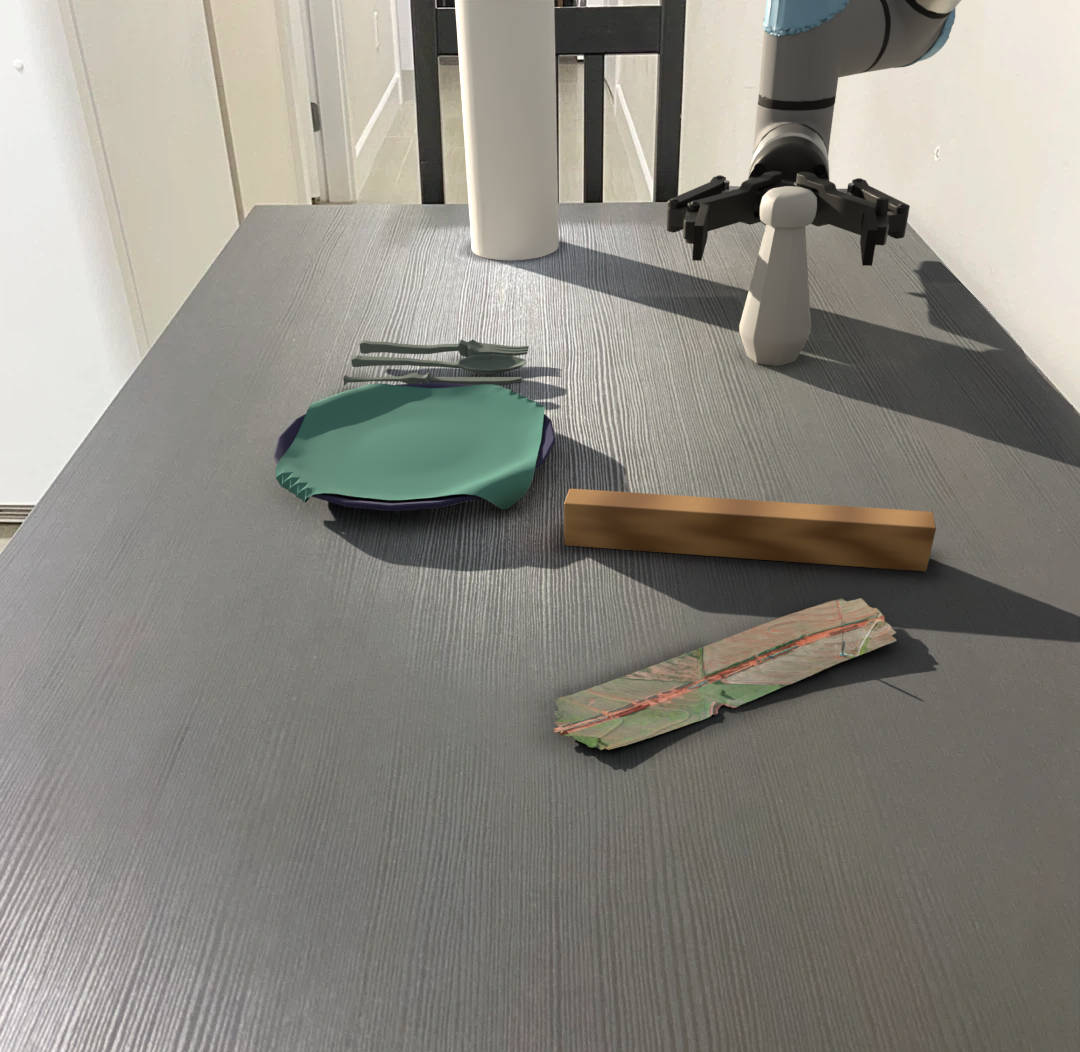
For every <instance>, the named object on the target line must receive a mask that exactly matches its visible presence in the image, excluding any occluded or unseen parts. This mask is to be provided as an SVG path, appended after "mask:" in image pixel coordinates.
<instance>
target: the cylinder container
mask: <svg viewBox="0 0 1080 1052" xmlns="http://www.w3.org/2000/svg"><path fill="white" fill-rule="evenodd" d="M454 7H455V8H454V9H455V22H456V23H455V24H456V36H457V39H456V40H457V51H458V52H457V54H458V67H459V83H460V96H461V111H462V125H463V138H464V141H463V142H464V154H465V168H466V169H465V170H466V171H465V172H466V183H467V184H466V185H467V186H466V187H467V199H468V200H467V202H468V214H469V228H470V246H471V251H472V253H473V254H475V255H476V256H479V257H480V258H485V259H488V260H489V259H490V260H495V261H524V260H533V259H537V258H542V257H545V256H549V255H551V254H553V253H555V252H556V251H558V249H559V247H560V246H559V245H560V234H559V233H560V232H559V231H560V228H559V185H558V184H559V181H558V177H559V176H558V131H557V130H558V127H557V124H558V123H557V75H556V74H557V73H556V72H557V71H556V69H557V68H556V21H555V19H556V17H555V0H454Z"/></svg>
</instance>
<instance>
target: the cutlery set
mask: <svg viewBox="0 0 1080 1052" xmlns="http://www.w3.org/2000/svg"><path fill="white" fill-rule="evenodd" d="M529 347H530V346H529V345H521V346H519V345H518V346H517V345H515V346H513V345H506V344H505V345H504V344H497V343H485V342H484V343H483V342H478V341H476V340H475V339H470V340H469V341H466V340H463V339H460V340H459V342H458V343H441V344H432V345H431V344H430V345H429V344H427V345H426V344H410V343H399V342H398V343H397V342H391V341H371V340H367V339H365V340H361V341H360V342H359V353H360V354H364V355H353V356H352V358H351V359H350V360H351V361H350V362H351V367H352V368H361V367H363V368H364V367H377V366H380V367H381V366H382V367H384V366H387V367H388V366H390V367H391V366H411V367H412V366H414V367H425V368H426V367H427V368H428V367H429V368H430V367H431V368H449V369H461V370H464V371H466V372H468V373H471V374H473V375H478V376H432V375H431V372H430V371H428V372H427V373H426V374H420V373H418V372H410V373H407V374H405V375H401V376H397V375H396V376H395V375H393V376H391V375H390V376H387V375H386V376H377V377H362V376H361V377H359V376H347V375H346V374H345V375H344V376H343V379H342V380H343V385H344V387H345V386H346V385H347V384H350V383H365V382H366V383H367V382H377V383H370V384H365V385H362V386H359V387H355V388H352V389H348V390H344V391H342V392H339V393H336V394H333V395H331V396H328V397H325V398H323V399H320V400H317V401H314V402H311V403H310V405H309V406H308V407H307V409H306V412H305V413H304V414H302V415H301V416H299V417H297V418H296V419H294V420H293V421H292V423H291V424H290V425H289V426H288V427H287V428H286V429H284V431H283V432H282V433H281V434H280V435H279V436H278V438H277V442H276V446H275V450H274V454H273V459H274V462H275V464H276V467H275V480H277V483H278V484H279V486H280V487H281V488H283V489H285V490H287V491H288V492H289V493H291V494H294V495H295V497H296V498H298V499H300V500H301V501H302V502H303V503H307V502H308V500H309V499H310V497H312V498H315V499H319V500H322V501H326V502H328V503H332V504H336V505H339V506H343V507H345V508H354V509H365V510H375V511H386V512H398V511H415V510H431V509H432V510H433V509H441V508H446V507H451V506H455V505H459V504H464V503H469V502H472V501H477V500H481V499H484V500H486V501H487V502H489V503H492V505H494V506H496V507H497V508H498V509H500V510H503V511H505V510H507V509H508V508H511V507H512V506H514V504H516V503H517V502H519V500H521V499H522V498H523V497H524V496H525V494H526V493H527V492H528V491H529V490H530V487H531V485H532V483H533V479H534V475H535V472H536V471H537V470H538V469H539V468H541V467H542V466H543V465H544V464H545V463H546V462H547V460H548V458H549V456H550V454H551V452H552V450H553V448H554V447H555V444H556V435H555V430H554V426H553V422H552V419H551V418H550V417H549V416H548V415H546V413H545V412H546V411H545V410H546V405H544V404H541V403H539V402H537V401H535V400H533V399H530V398H529V397H527V396H524V395H521V394H520V393H518V392H515V391H512V389H510V388H506V387H504V386H511V385H515V384H516V385H517V384H521V383H522V382H523V377H522V376H495V375H500V374H505V373H507V372H511V371H515V370H519V369H520V368H522V367H523V366H525V365H526V362H527V359H525V358H522V357H519V356H524V355H525V356H526V355H528V352H529V349H530V348H529ZM449 352H458V354H459V356H462V357H464V358H460V359H458V360H457V361H455V362H448V361H441V360H432V359H431V360H430V359H418V358H413V357H411V358H410V357H396V356H395V357H390V356H368V355H369V354H371V353H372V354H377V353H378V354H380V353H381V354H382V353H389V354H400V355H433V354H440V353H449ZM366 354H368V355H366ZM379 382H380V383H379ZM381 382H400V383H402V384H391V383H381Z"/></svg>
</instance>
